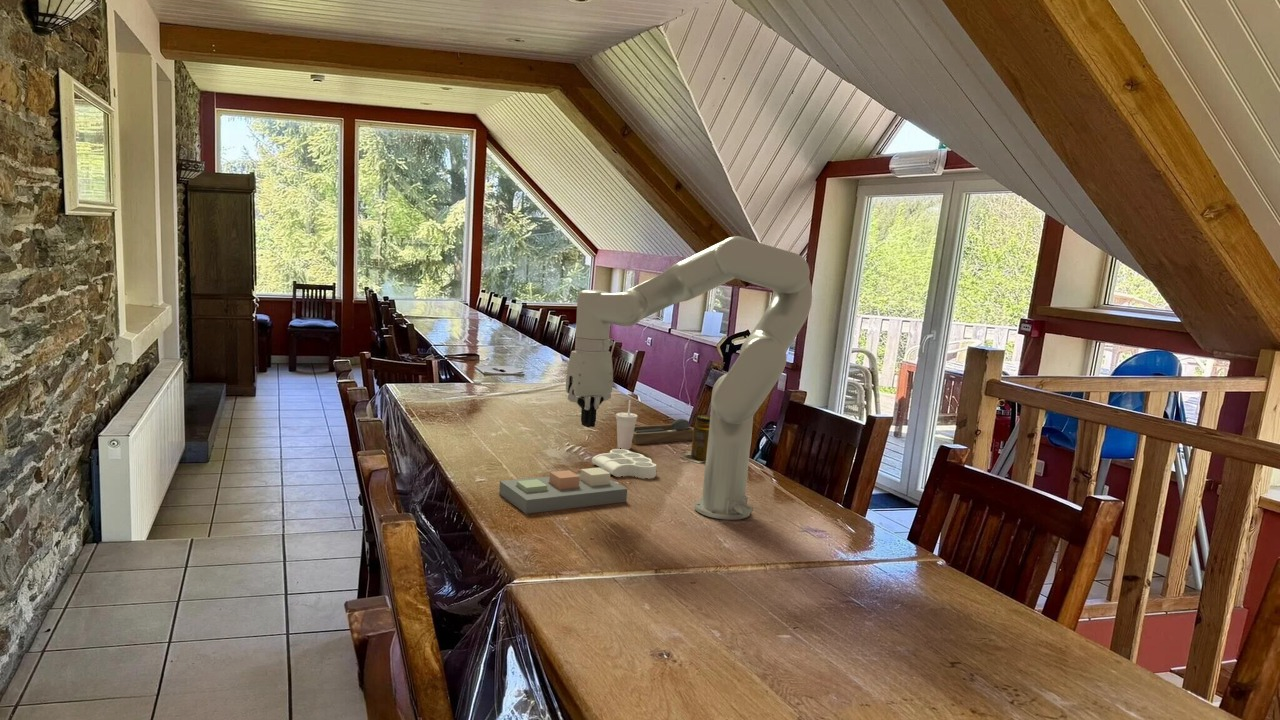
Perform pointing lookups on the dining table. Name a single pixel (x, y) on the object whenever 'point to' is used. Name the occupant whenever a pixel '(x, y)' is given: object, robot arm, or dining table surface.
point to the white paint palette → (626, 464)
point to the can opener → (676, 425)
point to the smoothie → (625, 428)
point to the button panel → (561, 495)
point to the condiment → (699, 439)
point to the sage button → (531, 486)
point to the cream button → (595, 476)
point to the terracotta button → (564, 479)
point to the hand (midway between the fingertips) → (588, 425)
